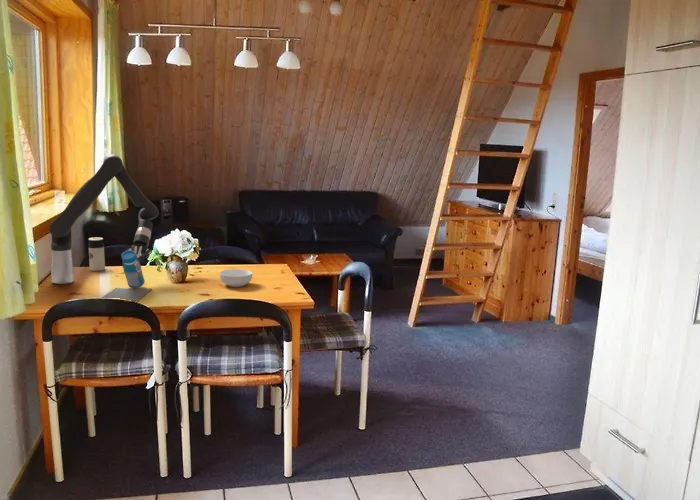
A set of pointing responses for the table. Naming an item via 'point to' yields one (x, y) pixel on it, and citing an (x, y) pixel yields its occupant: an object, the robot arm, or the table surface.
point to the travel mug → (96, 254)
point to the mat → (127, 293)
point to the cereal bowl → (236, 277)
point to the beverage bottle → (132, 269)
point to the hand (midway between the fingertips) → (135, 265)
